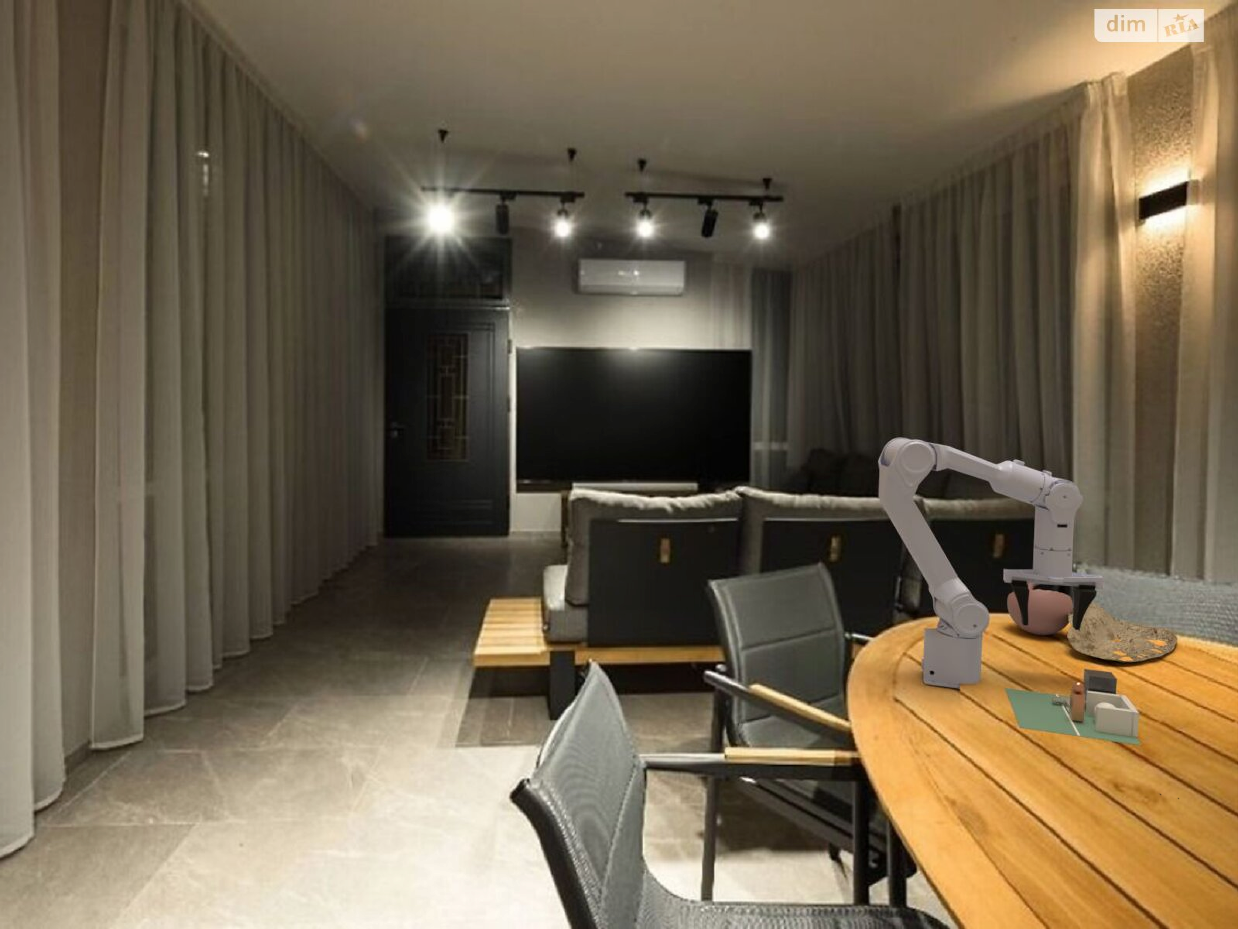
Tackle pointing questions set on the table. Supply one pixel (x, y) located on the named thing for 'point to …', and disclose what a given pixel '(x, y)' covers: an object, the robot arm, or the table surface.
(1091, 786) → the table surface
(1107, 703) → the ball
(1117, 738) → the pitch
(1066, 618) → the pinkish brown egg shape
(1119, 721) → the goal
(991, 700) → the table surface
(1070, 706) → the knob lever
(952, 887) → the table surface
